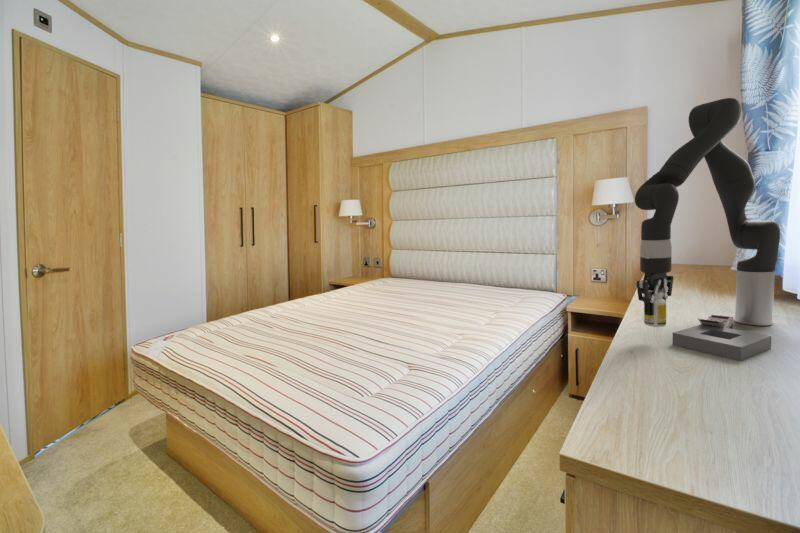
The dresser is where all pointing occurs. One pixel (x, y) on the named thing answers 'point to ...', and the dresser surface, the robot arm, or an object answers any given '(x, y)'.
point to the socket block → (722, 341)
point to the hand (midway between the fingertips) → (655, 313)
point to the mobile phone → (718, 321)
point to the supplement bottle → (657, 312)
